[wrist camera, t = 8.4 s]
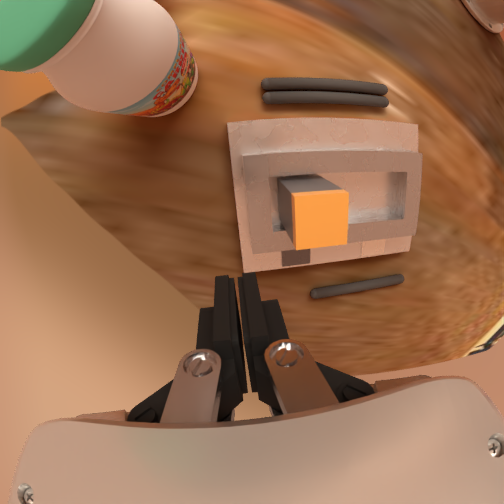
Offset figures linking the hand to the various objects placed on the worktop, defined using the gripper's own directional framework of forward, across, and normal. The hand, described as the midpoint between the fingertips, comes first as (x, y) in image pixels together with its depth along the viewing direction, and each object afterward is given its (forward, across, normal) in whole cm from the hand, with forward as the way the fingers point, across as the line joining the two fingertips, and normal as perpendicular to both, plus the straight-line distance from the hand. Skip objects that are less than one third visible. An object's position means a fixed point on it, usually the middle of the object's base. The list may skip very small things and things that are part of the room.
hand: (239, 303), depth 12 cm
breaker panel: (+17, -10, 0) cm, 20 cm away
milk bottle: (+17, +6, -13) cm, 22 cm away
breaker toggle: (+15, -6, 0) cm, 16 cm away
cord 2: (+17, -14, +12) cm, 25 cm away
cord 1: (+16, -10, -11) cm, 23 cm away
